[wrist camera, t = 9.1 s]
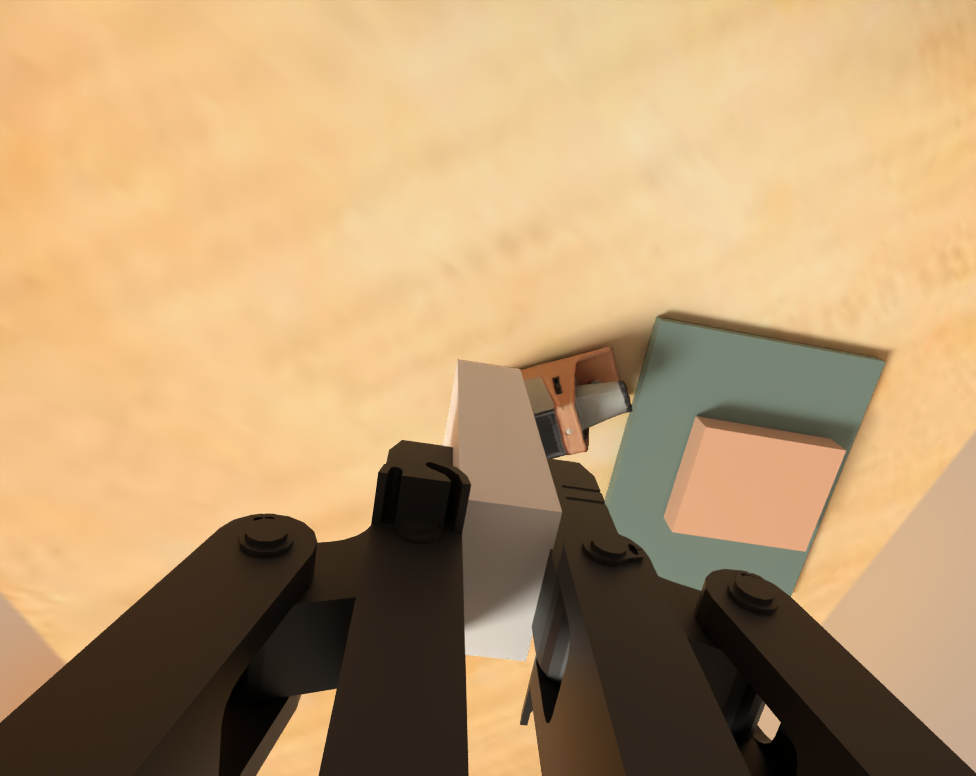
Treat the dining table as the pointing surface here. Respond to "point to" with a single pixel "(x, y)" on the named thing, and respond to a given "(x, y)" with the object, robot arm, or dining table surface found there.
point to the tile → (752, 484)
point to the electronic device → (574, 399)
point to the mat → (735, 398)
